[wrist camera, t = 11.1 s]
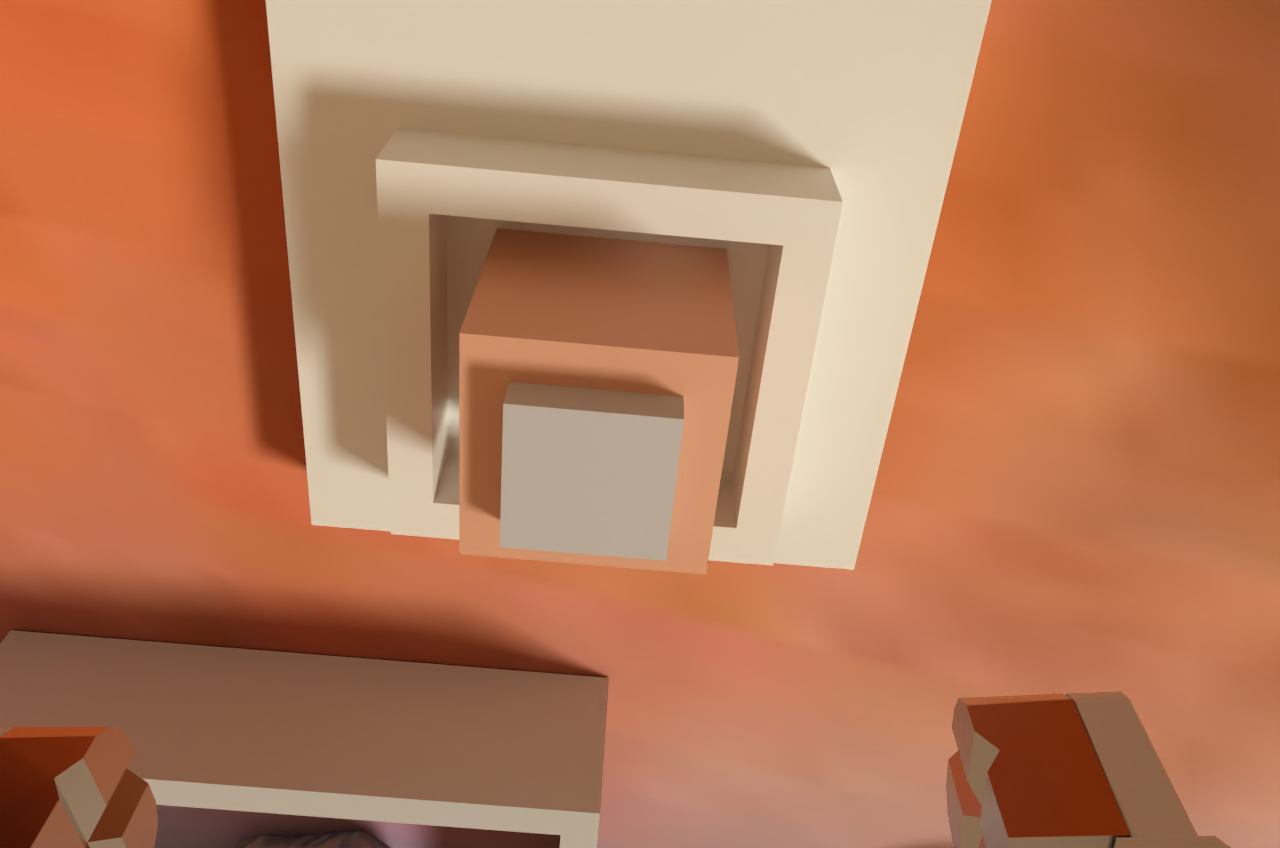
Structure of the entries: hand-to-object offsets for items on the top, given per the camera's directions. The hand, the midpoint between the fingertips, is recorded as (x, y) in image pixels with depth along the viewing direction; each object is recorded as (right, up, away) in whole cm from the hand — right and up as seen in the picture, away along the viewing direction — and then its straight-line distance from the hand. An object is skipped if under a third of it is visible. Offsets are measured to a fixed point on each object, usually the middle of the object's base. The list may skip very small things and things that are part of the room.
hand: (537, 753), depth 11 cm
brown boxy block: (0, +5, +14) cm, 15 cm away
